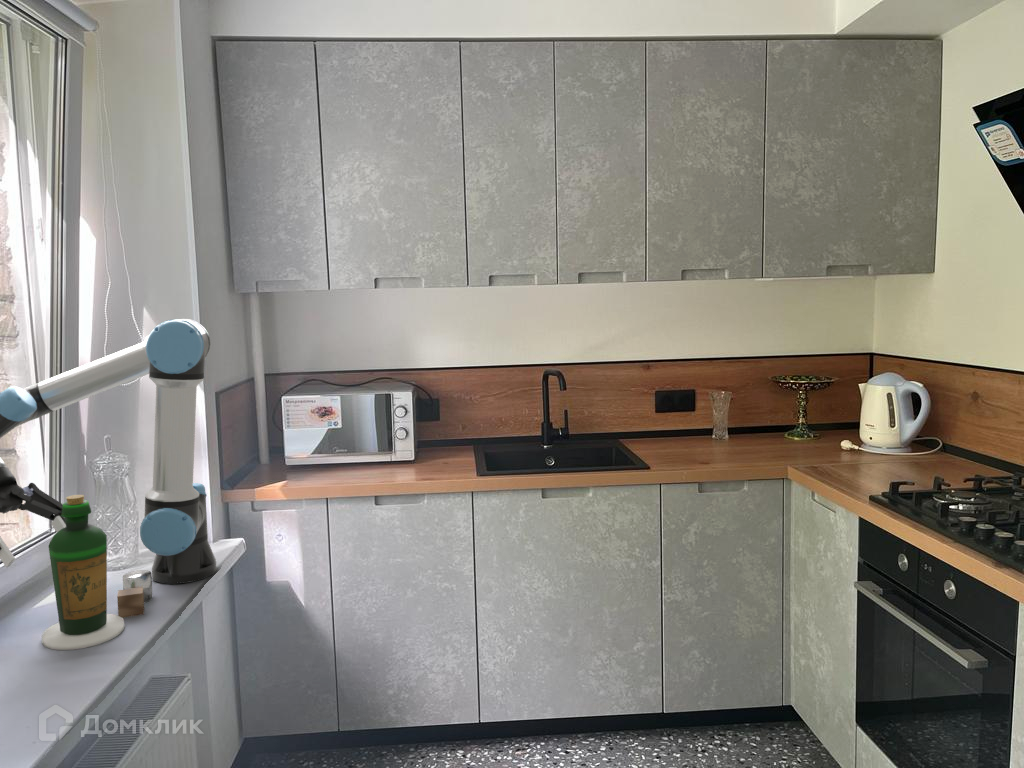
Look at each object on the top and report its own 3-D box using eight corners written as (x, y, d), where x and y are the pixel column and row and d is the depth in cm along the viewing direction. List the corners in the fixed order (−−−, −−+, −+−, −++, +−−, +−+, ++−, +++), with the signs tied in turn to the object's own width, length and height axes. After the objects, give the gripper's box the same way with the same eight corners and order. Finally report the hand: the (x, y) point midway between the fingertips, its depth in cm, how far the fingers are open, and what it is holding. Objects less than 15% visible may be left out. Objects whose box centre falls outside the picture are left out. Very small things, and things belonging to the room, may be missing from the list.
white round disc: (126, 614, 171) (126, 609, 171) (121, 642, 157) (121, 636, 157) (48, 625, 165) (47, 620, 165) (36, 655, 152) (35, 649, 151)
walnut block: (144, 608, 175) (143, 586, 174) (143, 614, 171) (142, 593, 171) (119, 611, 173) (118, 590, 172) (118, 618, 169) (117, 596, 169)
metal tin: (153, 593, 184) (151, 568, 183) (152, 602, 178) (150, 577, 177) (124, 596, 181) (123, 572, 181) (123, 606, 176) (121, 580, 175)
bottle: (81, 642, 155) (71, 505, 151) (42, 634, 158) (32, 500, 155) (124, 621, 165) (116, 492, 161) (86, 614, 168) (78, 488, 165)
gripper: (-66, 478, 155) (-10, 561, 151) (50, 453, 178) (101, 525, 174) (-80, 501, 158) (-25, 583, 154) (36, 473, 180) (86, 544, 177)
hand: (42, 552), depth 164 cm, fingers open, 13 cm apart
